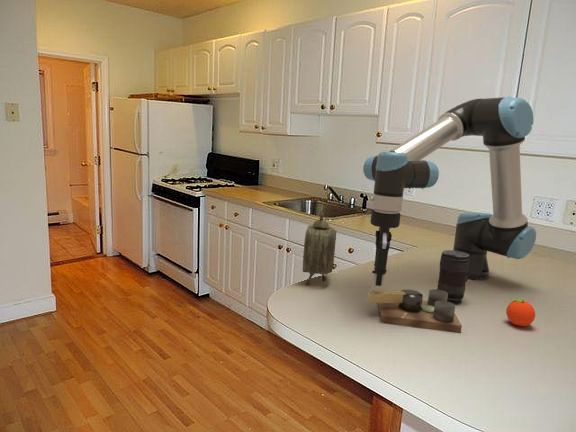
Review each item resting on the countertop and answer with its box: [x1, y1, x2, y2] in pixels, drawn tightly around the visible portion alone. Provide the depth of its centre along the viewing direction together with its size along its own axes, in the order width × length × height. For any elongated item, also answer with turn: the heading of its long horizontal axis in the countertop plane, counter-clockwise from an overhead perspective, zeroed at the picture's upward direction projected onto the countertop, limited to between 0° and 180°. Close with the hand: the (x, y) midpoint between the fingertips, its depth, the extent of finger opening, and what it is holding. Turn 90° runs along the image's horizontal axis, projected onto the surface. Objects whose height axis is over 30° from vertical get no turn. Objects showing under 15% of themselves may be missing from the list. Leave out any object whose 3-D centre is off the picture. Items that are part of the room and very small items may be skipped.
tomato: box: [505, 298, 536, 327], centre depth 114 cm, size 8×7×7 cm
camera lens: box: [436, 249, 469, 305], centre depth 128 cm, size 8×8×15 cm
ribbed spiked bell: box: [302, 205, 337, 286], centre depth 137 cm, size 14×9×25 cm, turn 170°
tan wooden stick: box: [367, 289, 424, 312], centre depth 114 cm, size 15×6×4 cm, turn 100°
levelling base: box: [377, 288, 463, 334], centre depth 115 cm, size 20×15×6 cm
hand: (376, 295), depth 115 cm, fingers closed
